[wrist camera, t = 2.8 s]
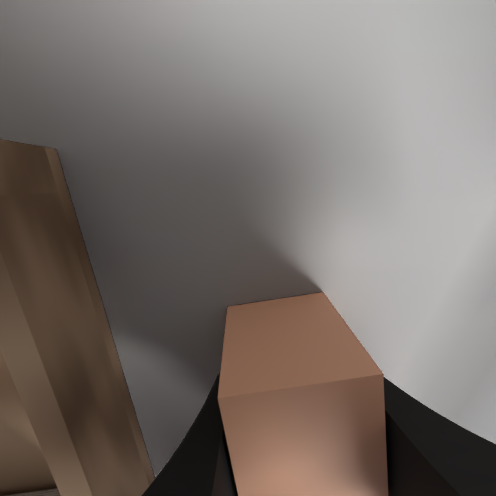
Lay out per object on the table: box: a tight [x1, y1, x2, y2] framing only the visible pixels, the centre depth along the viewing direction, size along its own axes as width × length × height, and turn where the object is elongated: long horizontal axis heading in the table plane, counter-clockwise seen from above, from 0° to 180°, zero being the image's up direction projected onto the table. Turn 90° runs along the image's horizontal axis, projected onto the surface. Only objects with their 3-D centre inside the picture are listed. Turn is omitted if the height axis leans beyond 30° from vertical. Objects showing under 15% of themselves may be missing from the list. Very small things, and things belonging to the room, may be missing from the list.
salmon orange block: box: [218, 292, 388, 496], centre depth 10 cm, size 4×6×5 cm, turn 9°
